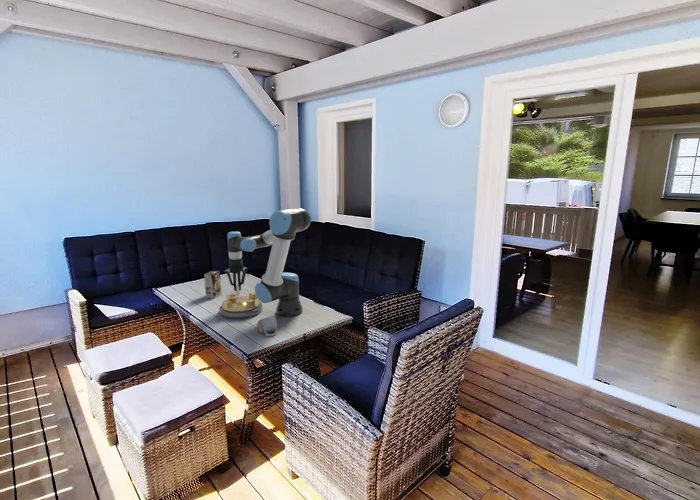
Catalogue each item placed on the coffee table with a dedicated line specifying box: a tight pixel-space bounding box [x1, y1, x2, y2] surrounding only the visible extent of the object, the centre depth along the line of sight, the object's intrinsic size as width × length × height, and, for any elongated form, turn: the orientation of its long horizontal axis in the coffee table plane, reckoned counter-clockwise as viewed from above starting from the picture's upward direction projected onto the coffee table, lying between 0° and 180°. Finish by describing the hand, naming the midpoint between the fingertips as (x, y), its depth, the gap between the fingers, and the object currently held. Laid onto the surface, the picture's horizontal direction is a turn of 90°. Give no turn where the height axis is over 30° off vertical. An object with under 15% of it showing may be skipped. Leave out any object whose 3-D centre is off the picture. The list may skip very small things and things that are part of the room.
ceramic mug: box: [257, 315, 278, 337], centre depth 186 cm, size 11×8×8 cm
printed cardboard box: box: [203, 270, 223, 299], centre depth 239 cm, size 9×6×16 cm
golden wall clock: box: [221, 291, 260, 313], centre depth 214 cm, size 21×21×6 cm
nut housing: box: [218, 301, 263, 320], centre depth 215 cm, size 24×24×3 cm
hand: (237, 295), depth 221 cm, fingers closed
